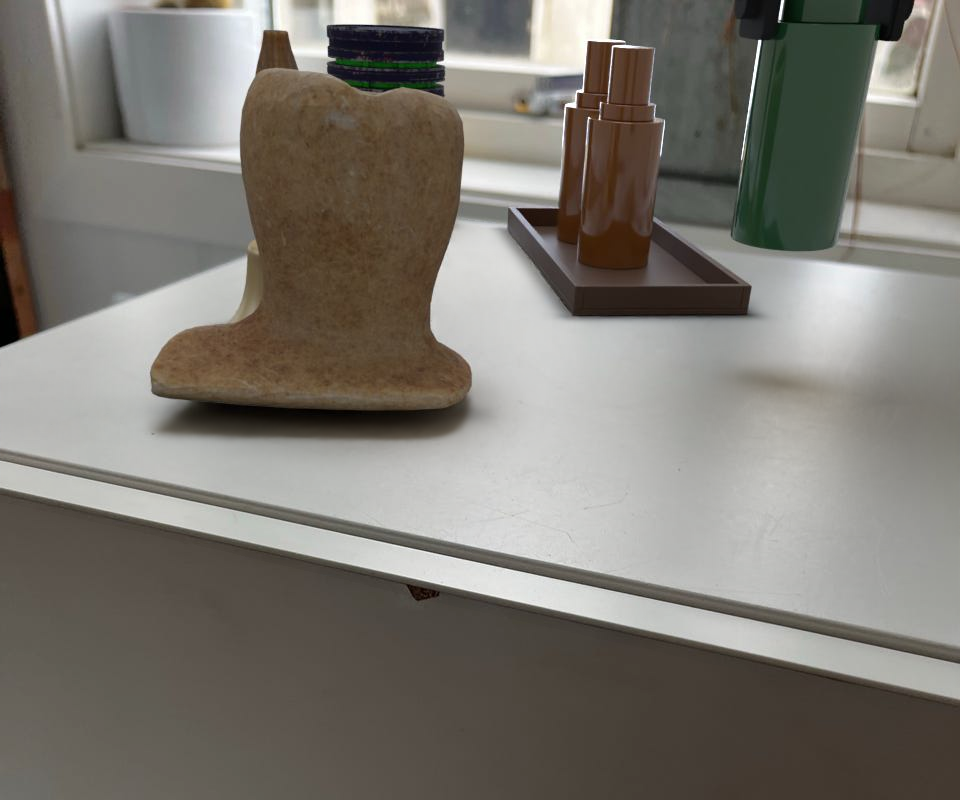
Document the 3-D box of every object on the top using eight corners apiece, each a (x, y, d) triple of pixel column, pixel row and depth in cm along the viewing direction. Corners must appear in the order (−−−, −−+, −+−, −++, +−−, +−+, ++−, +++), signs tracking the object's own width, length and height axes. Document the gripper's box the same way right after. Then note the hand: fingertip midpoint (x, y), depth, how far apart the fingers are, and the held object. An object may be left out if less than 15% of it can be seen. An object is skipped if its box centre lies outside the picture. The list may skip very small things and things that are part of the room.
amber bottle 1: (612, 231, 88) (631, 39, 80) (629, 246, 84) (651, 43, 76) (550, 231, 88) (563, 37, 80) (563, 246, 83) (578, 41, 75)
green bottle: (811, 227, 57) (870, -90, 49) (855, 250, 52) (928, -95, 44) (716, 228, 56) (760, -93, 48) (752, 252, 52) (807, -99, 43)
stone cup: (474, 363, 58) (483, 65, 50) (468, 442, 48) (478, 86, 40) (211, 353, 58) (177, 52, 50) (151, 430, 48) (96, 70, 40)
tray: (639, 230, 91) (642, 207, 90) (747, 314, 69) (752, 285, 68) (507, 229, 90) (508, 206, 89) (573, 315, 67) (575, 286, 66)
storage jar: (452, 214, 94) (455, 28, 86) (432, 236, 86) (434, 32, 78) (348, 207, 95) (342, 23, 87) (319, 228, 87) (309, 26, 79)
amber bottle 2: (636, 252, 82) (660, 45, 74) (656, 269, 77) (684, 50, 69) (569, 252, 81) (585, 43, 73) (585, 269, 76) (604, 48, 68)
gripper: (1056, -456, 43) (942, 36, 53) (668, -485, 41) (626, 33, 51) (1181, -526, 37) (1025, 45, 47) (732, -564, 35) (669, 43, 45)
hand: (818, 34), depth 49 cm, fingers closed on green bottle, 5 cm apart
